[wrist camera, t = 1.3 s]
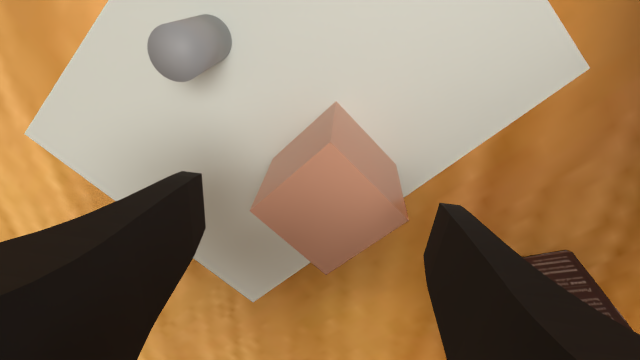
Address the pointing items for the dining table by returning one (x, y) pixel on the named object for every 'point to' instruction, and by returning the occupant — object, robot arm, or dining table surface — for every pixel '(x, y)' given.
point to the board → (291, 97)
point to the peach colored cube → (331, 191)
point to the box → (575, 281)
